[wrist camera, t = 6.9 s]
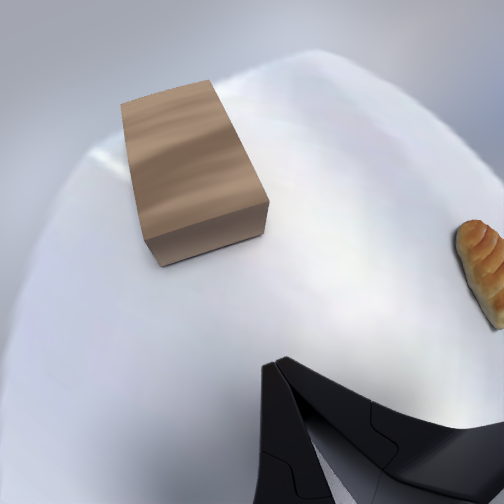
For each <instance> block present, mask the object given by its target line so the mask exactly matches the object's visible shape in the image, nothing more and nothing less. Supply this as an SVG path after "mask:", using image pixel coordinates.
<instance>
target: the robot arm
mask: <svg viewBox="0 0 504 504" xmlns="http://www.w3.org/2000/svg"><path fill="white" fill-rule="evenodd" d="M311 440H312V441H311ZM312 442H313V443H314V444H315V446H316V447H317V449H318V450H319V452H320V453H321V454H322V456H323V457H324V459H325V460H326V462H327V463H328V464H329V466H330V467H331V469H332V470H333V471H334V473H335V474H336V476H337V477H338V478H339V480H340V481H341V482H342V484H343V485H344V487H345V488H346V489H347V491H348V492H349V493H350V495H351V496H352V497H353V499H354V500H355V501H356V503H357V504H504V422H500V423H495V424H491V425H486V426H481V427H476V428H470V429H456V428H449V427H445V426H442V425H438V424H434V423H431V422H427V421H424V420H420V419H417V418H414V417H411V416H408V415H405V414H402V413H399V412H396V411H394V410H392V409H389V408H387V407H385V406H382V405H380V404H378V403H376V402H374V401H372V402H371V400H370V399H368V398H366V397H364V396H362V395H360V394H358V393H356V392H354V391H352V390H350V389H348V388H346V387H344V386H342V385H340V384H338V383H336V382H334V381H332V380H330V379H328V378H326V377H325V376H323V375H321V374H319V373H317V372H315V371H313V370H311V369H310V368H308V367H306V366H304V365H302V364H300V363H299V362H297V361H295V360H293V359H291V358H290V357H287V356H286V357H283V358H280V359H278V360H276V361H275V362H270V363H267V364H265V365H263V366H262V369H261V411H260V447H259V451H260V452H259V467H258V479H257V485H256V491H255V496H254V501H253V504H336V503H335V501H334V498H333V496H332V493H331V490H330V488H329V485H328V483H327V480H326V478H325V475H324V472H323V470H322V467H321V465H320V462H319V460H318V457H317V454H316V452H315V449H314V447H313V444H312Z"/></svg>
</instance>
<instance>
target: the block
mask: <svg viewBox="0 0 504 504" xmlns="http://www.w3.org/2000/svg"><path fill="white" fill-rule="evenodd" d="M121 112H122V119H123V128H124V135H125V142H126V149H127V155H128V162H129V168H130V173H131V179H132V185H133V190H134V195H135V200H136V205H137V210H138V215H139V220H140V224H141V229H142V233H143V238H144V241H145V243H146V244H147V246H148V248H149V249H150V251H151V252H152V254H153V255H154V257H155V259H156V260H157V262H158V263H159V265H160V266H161V267H162V266H165V265H168V264H171V263H174V262H177V261H180V260H183V259H186V258H189V257H193V256H196V255H199V254H202V253H205V252H208V251H211V250H214V249H217V248H220V247H223V246H226V245H229V244H233V243H236V242H239V241H242V240H245V239H248V238H251V237H254V236H258V235H261V234H264V229H265V223H266V218H267V212H268V207H269V199H268V197H267V195H266V193H265V190H264V188H263V186H262V184H261V182H260V180H259V178H258V176H257V174H256V172H255V170H254V168H253V165H252V163H251V161H250V159H249V157H248V155H247V153H246V151H245V149H244V147H243V145H242V143H241V141H240V139H239V137H238V135H237V133H236V131H235V129H234V127H233V125H232V123H231V121H230V119H229V117H228V115H227V113H226V111H225V109H224V107H223V105H222V103H221V101H220V99H219V98H218V96H217V94H216V92H215V90H214V88H213V86H212V84H211V82H210V80H206V81H201V82H197V83H193V84H189V85H185V86H181V87H177V88H173V89H169V90H166V91H162V92H159V93H155V94H151V95H148V96H145V97H142V98H138V99H135V100H132V101H130V102H126V103H123V104H121Z"/></svg>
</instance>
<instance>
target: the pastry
mask: <svg viewBox="0 0 504 504" xmlns="http://www.w3.org/2000/svg"><path fill="white" fill-rule="evenodd" d="M456 249H457V253H458V256H459V257H460V259H461V261H462V264H463V268H464V271H465V274H466V280H467V283H468V286H469V288H471V289H472V291H473V293H474V295H475V297H476V299H477V301H478V303H479V305H480V307H481V309H482V311H483V312H484V314H485V316H486V317H487V319H488V321H489V322H490V323H491V324H492V325H493V326H494V327H495V328H496V329H499V330H500V329H503V328H504V239H502V238H501V237H500V236H499V234H498V233H497V232H496V231H495V230H493V229H492V228H490V226H488V225H486V224H485V223H483V222H482V221H481V220H470V221H467V222H465V223H463V224H462V225H461V226H460V227H459V228H458V231H457V235H456Z"/></svg>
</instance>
